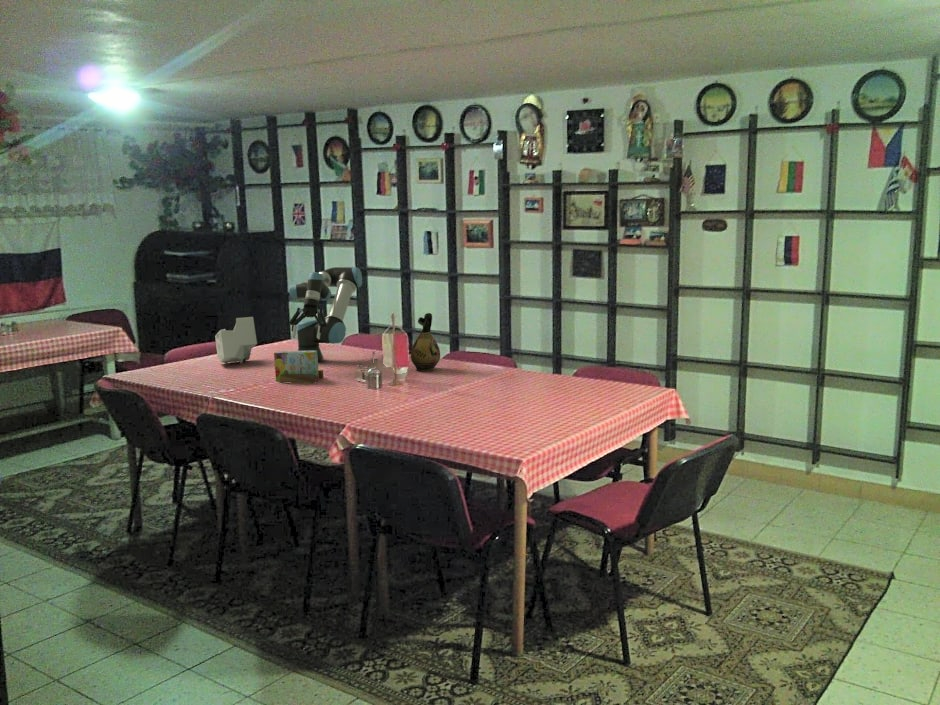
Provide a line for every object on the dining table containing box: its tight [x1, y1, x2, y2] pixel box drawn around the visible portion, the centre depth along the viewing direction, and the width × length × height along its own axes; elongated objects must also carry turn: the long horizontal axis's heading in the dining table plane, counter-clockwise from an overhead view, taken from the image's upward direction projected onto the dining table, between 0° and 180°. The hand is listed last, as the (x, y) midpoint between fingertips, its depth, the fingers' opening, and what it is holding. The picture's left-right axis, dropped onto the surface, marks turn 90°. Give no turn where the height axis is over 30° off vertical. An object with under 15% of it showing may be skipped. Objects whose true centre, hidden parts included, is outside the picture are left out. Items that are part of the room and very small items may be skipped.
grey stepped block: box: [214, 316, 258, 365], centre depth 475 cm, size 20×16×25 cm
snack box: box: [273, 350, 320, 382], centre depth 425 cm, size 21×6×15 cm, turn 84°
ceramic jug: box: [410, 312, 441, 373], centre depth 441 cm, size 17×15×30 cm
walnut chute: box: [279, 369, 324, 384], centre depth 426 cm, size 13×18×4 cm
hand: (305, 337), depth 441 cm, fingers open, 13 cm apart
